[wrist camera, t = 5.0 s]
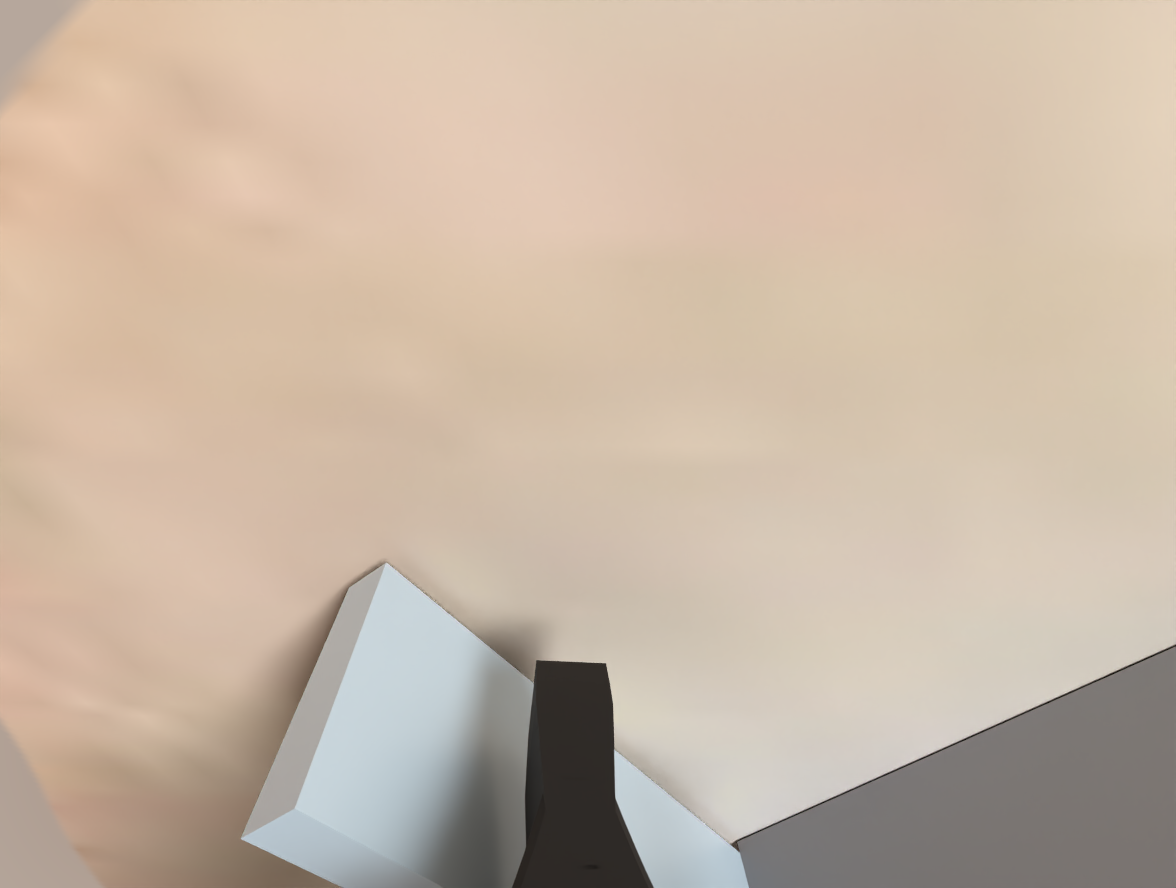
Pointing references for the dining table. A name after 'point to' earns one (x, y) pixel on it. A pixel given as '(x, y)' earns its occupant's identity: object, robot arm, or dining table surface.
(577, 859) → the robot arm
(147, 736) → the dining table surface
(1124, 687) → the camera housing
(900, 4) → the dining table surface
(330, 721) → the side door
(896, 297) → the dining table surface
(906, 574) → the dining table surface
